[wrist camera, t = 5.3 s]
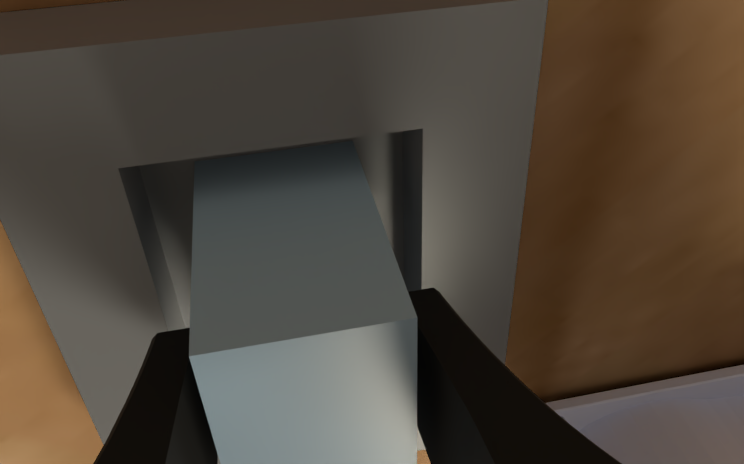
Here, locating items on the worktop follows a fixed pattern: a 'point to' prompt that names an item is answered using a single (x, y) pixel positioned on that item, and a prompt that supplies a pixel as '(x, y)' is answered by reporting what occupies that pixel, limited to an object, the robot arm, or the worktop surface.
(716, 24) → the worktop surface
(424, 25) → the grey slotted base
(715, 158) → the worktop surface
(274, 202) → the block
